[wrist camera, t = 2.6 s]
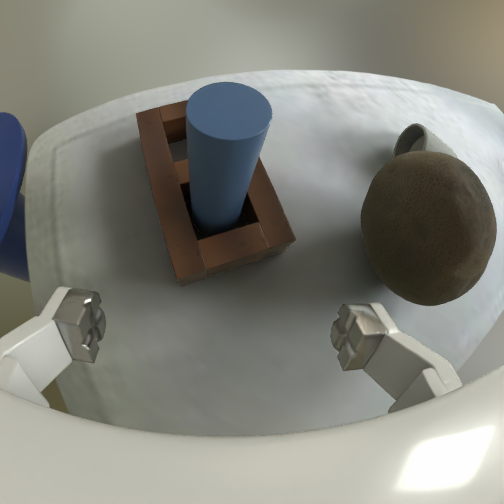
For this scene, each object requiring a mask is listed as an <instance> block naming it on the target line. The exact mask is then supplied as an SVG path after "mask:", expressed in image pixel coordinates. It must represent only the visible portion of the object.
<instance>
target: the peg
mask: <svg viewBox="0 0 504 504" xmlns="http://www.w3.org/2000/svg"><path fill="white" fill-rule="evenodd" d="M185 111H186V135H187V153H188V169H189V182H190V194H191V206H192V217H193V223H194V225H195V227H196V229H197V230H198V231H199V232H200V233H201V234H203V235H205V236H207V237H211V236H214V235H217V234H220V233H224V232H227V231H230V230H233V229H234V228H235V227H236V224H237V222H238V219H239V215H240V212H241V209H242V206H243V203H244V200H245V197H246V194H247V191H248V188H249V185H250V182H251V179H252V176H253V173H254V170H255V167H256V164H257V161H258V158H259V155H260V152H261V149H262V146H263V143H264V140H265V137H266V134H267V131H268V128H269V126H270V123H271V119H272V109H271V106H270V104H269V102H268V100H267V99H266V98H265V97H264V96H263V95H262V94H261V93H260V92H258V91H257V90H255V89H253V88H251V87H249V86H246V85H243V84H239V83H233V82H219V83H213V84H210V85H207V86H204V87H202V88H200V89H198V90H197V91H196V92H194V93H193V94H192V95H191V97H190V98H189V100H188V101H187V104H186V109H185Z"/></svg>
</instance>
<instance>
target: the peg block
mask: <svg viewBox="0 0 504 504" xmlns="http://www.w3.org/2000/svg"><path fill="white" fill-rule="evenodd" d="M187 101H188V100H187ZM187 101H182V102H178V103H173V104H169V105H165V106H161V107H159V108H158V107H157V108H153V109H150V110H146V111H143V112H139V113H136V117H137V122H138V128H139V133H140V138H141V143H142V148H143V153H144V158H145V162H146V167H147V171H148V176H149V180H150V184H151V189H152V193H153V197H154V201H155V205H156V208H157V212H158V216H159V220H160V223H161V227H162V231H163V234H164V238H165V241H166V245H167V248H168V251H169V255H170V258H171V261H172V264H173V268H174V271H175V274H176V277H177V280H178V281H179V283H180V284H181V286H184V285H187V284H190V283H193V282H196V281H199V280H202V279H205V278H208V277H211V276H214V275H217V274H220V273H223V272H226V271H229V270H232V269H235V268H238V267H241V266H243V265H246V264H249V263H252V262H255V261H258V260H260V259H264V258H267V257H270V256H273V255H276V254H279V253H282V252H284V251H285V250H286V249H287V248H288V247H289V246H290V245H291V244H292V243H293V242H294V241H295V240H296V239H295V236H294V234H293V231H292V229H291V227H290V224H289V222H288V220H287V217H286V215H285V213H284V210H283V208H282V206H281V204H280V201H279V199H278V197H277V195H276V192H275V190H274V188H273V186H272V183H271V181H270V179H269V177H268V175H267V172H266V170H265V168H264V166H263V164H262V162H261V160H260V157H259V158H258V161H257V164H256V167H255V170H254V173H253V176H252V179H251V182H250V185H249V188H248V191H247V194H246V197H245V200H244V203H243V206H242V209H241V211H242V213H243V216H244V218H245V221H246V224H247V225H246V226H243V227H240V228H237V229H233V230H230V231H227V232H224V233H220V234H217V235H214V236H211V237H208V238H205V239H201V240H198V241H197V238H196V235H195V232H194V229H193V226H192V223H191V219H190V216H189V213H188V210H187V207H186V204H185V202H189V201H191V194H190V182H189V169H188V159H185V160H181V161H177V162H174V163H173V160H172V157H171V153H170V149H169V146H168V144H170V143H173V142H177V141H181V140H185V139H187V135H186V111H185V109H186V104H187Z"/></svg>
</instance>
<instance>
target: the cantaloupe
mask: <svg viewBox="0 0 504 504" xmlns="http://www.w3.org/2000/svg"><path fill="white" fill-rule="evenodd" d="M361 229H362V235H363V243H364V248H365V251H366V254H367V256H368V259H369V261H370V263H371V265H372V267H373V269H374V271H375V272H376V274H377V275H378V277H379V278H380V279H381V281H382V282H383V283H384V284H385V285H386V286H387V287H388V288H389V289H390V290H391V291H393V292H394V293H395V294H397V295H398V296H400V297H402V298H404V299H405V300H407V301H410V302H412V303H415V304H419V305H424V306H435V305H440V304H444V303H447V302H449V301H452V300H454V299H457V298H459V297H460V296H462V295H463V294H465V293H466V292H468V291H469V290H470V289H471V288H472V287H473V286H474V285H475V284H476V283H477V282H478V281H479V279H480V278H481V276H482V274H483V273H484V271H485V269H486V266H487V264H488V261H489V259H490V256H491V254H492V252H493V248H494V245H495V241H496V232H497V229H496V218H495V213H494V210H493V206H492V203H491V200H490V198H489V196H488V193H487V191H486V189H485V188H484V186H483V184H482V183H481V181H480V179H479V178H478V177H477V175H476V174H475V173H474V172H473V171H472V170H471V169H470V168H469V167H468V166H467V165H466V164H465V163H464V162H462V161H461V160H459V159H457V158H455V157H453V156H451V155H448V154H445V153H442V152H432V151H413V152H408V153H404V154H401V155H398V156H396V157H395V158H393V159H392V160H391V161H389V162H388V163H387V164H385V165H384V166H383V167H382V168H381V170H380V171H379V172H378V173H377V175H376V176H375V177H374V179H373V180H372V183H371V185H370V187H369V190H368V192H367V195H366V197H365V200H364V203H363V206H362V210H361Z"/></svg>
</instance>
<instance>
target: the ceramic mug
mask: <svg viewBox="0 0 504 504" xmlns="http://www.w3.org/2000/svg"><path fill="white" fill-rule="evenodd" d="M413 151H432V152H442V153H445V154H448V155H451V156H453V157H455V158H457V156H456V154H455V153H454V151H453V150H452V149H451V148H450V147H449V146H448V145H447V144H445V143H444V142H443V141H442V140H440V139H439V138H438V137H437V136H436V135H434V134H433V133H432V132H431V131H429V130H428V129H427V128H425V127H424V126H423V125H421V124H417V123H416V124H412V125H410V126H408V127H407V128H406V129H405V130H404V131H403V132H402V133H401V135H400V136H399V138H398V140H397V143H396V145H395V148H394V152H393V158H395V157H396V156H398V155H401V154H404V153H408V152H413ZM457 159H458V158H457Z"/></svg>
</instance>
